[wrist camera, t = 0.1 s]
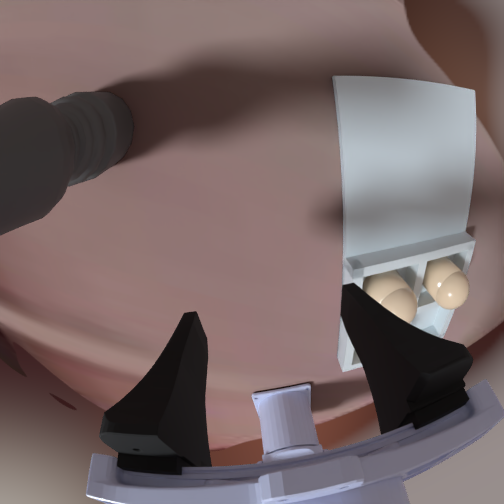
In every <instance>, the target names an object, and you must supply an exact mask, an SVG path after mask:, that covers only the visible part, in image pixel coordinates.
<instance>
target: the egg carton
mask: <svg viewBox="0 0 504 504" xmlns="http://www.w3.org/2000/svg"><path fill="white" fill-rule="evenodd" d="M332 80H333V88H334V95H335V103H336V112H337V121H338V132H339V144H340V157H341V173H342V196H343V277H342V285H345V284H349V283H355V284H356V285H357V286H359V287H360V288H361V289H362V286H363V281H364V280H365V278H366V277H367V276H370V275H374V274H379V273H383V272H387V271H391V270H395V269H396V270H397V272H398V273H399V274H400V275H401V277H402V278H403V279H404V280H405V282H406V283H407V284H408V285H409V287H410V288H411V289H412V291H413V292H414V294H415V295H416V298H417V303H418V308H417V313H416V315H415V318H414V319H413V321H412V322H411V323H410V324H411V325H413V326H415V327H417V328H419V329H421V330H423V331H425V332H427V333H430V334H432V335H434V336H437V337H440V338H443V337H444V334H445V332H446V330H447V327H448V325H449V323H450V320H451V318H452V315H453V312H454V310H455V309H452V310H448V309H444V308H442V307H441V306H439V305H438V304H437V302H436V301H435V300H434V299H433V297H432V296H431V295H430V294H429V292H428V291H427V290H426V289H425V287H424V286H423V285H422V283H423V279H424V274H425V270H426V265H427V261H430V260H434V259H438V258H441V257H445V256H447V257H448V258H449V259H450V260H451V261H452V262H453V263H454V264H455V265H456V266H457V267H458V268H459V269H460V270H461V271H462V272H463V273H464V274H465V275H467V271H468V268H469V264H470V261H471V257H472V253H473V250H474V246H475V241H476V240H475V239H474V238H473V237H472V236H470V235H469V234H468V233H467V232H465V230H466V225H467V220H468V214H469V208H470V201H471V194H472V186H473V177H474V166H475V149H476V103H475V90H471V89H466V88H461V87H456V86H451V85H446V84H440V83H434V82H427V81H419V80H411V79H401V78H390V77H373V76H332ZM341 301H342V300H341ZM337 358H338V360H339V363H340V366H341V369H342V371H343V372H345V371H349V370H352V369H356V368H359V367H363V366H362V364H361V362H360V360H359V357H358V355H357V353H356V351H355V349H354V347H353V345H352V343H351V341H350V339H349V337H348V334H347V332H346V330H345V327H344V324H343V321H342V318H341V316H340V330H339V342H338V352H337Z"/></svg>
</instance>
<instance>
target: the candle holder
mask: <svg viewBox="0 0 504 504" xmlns="http://www.w3.org/2000/svg"><path fill="white" fill-rule="evenodd" d="M133 129H134V125H133V120H132V115H131V111H130V110H129V108H128V107H127V105H126V104H125V102H124V101H123V100H122V99H121V98H119V97H118V96H116V95H114V94H112V93H110V92H74V93H72V94H70V95H68V96H66V97H62V98H60V99H58V100H56V101H54V102H52V103H48V102H47V101H45V100H43V99H41V98H38V97H26V98H16V99H11V100H9V101H7V102H5V103H3V104H2V105H0V235H2V234H5V233H7V232H9V231H11V230H14V229H16V228H19V227H21V226H23V225H26V224H28V223H31V222H34V221H36V220H39V219H41V218H43V217H44V216H46V215H47V214H48V213H49V212H50V211H51V210H52V209H53V207H54V206H55V205H56V204H57V203H58V202H59V201H60V200H61V199H62V197H63V195H64V194H65V192H66V189H67V186H72V185H75V184H78V183H82V182H85V181H87V180H90V179H93V178H96V177H97V176H99V175H100V174H102V173H103V172H104V171H106V170H107V169H109V168H110V167H112V166H113V165H114V164H116V163H117V162H118V161H119V160H120V159H121V158H123V157H124V155H125V153H126V152H127V150H128V148H129V146H130V144H131V142H132V136H133Z"/></svg>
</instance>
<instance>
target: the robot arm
mask: <svg viewBox="0 0 504 504" xmlns="http://www.w3.org/2000/svg"><path fill="white" fill-rule="evenodd" d="M341 318H342V321H343V324H344V327H345V330H346V332H347V334H348V337H349V339H350V341H351V343H352V345H353V347H354V349H355V351H356V353H357V355H358V357H359V360H360V362H361V364H362V366H363V368H364V371H365V374H366V377H367V380H368V383H369V386H370V389H371V393H372V396H373V400H374V404H375V408H376V412H377V416H378V421H379V426H380V431H381V435H379V436H376V437H373V438H370V439H367V440H365V441H361V442H358V443H355V444H351V445H348V446H344V447H341V448H337V449H333V450H328V449H325V450H323V449H322V445H319V442H318V438H317V434H316V429H315V425H314V421H313V417H312V413H311V385H310V384H309V383H307V384H302V385H297V386H292V387H287V388H282V389H276V390H271V391H265V392H258V393H253V394H252V399H253V402H254V404H255V407H256V410H257V413H258V415H259V418H260V424H261V433H262V440H263V449H264V455H262V458H263V461H259V462H258V463H257V464H248V465H236V466H220V467H212V465H211V458H210V451H209V443H208V435H207V423H206V408H205V392H206V378H207V365H208V344H207V337H206V335H205V332H204V330H203V327H202V325H201V322H200V319H199V317H198V314H197V312H196V311H194V312H187V313H184V314H183V316H182V318H181V320H180V322H179V324H178V326H177V328H176V329H175V331H174V333H173V335H172V337H171V338H170V340H169V342H168V344H167V345H166V347H165V349H164V350H163V352H162V353H161V355H160V356H159V358H158V359H157V361H156V362H155V364H154V365H153V366H152V368H151V369H150V370H149V372H148V373H147V374H146V375H145V376H144V378H143V379H142V380H141V381H140V382H139V383H138V384H137V385H136V386H135V387H134V388H133V389H132V390H131V391H130V392H129V393H128V394H127V395H126V396H125V397H124V398H123V399H121V400H120V401H119V402H118V403H116V404H115V405H114V406H112V407H111V408H110V409H108V410H107V411H106V412H105V413H104V416H103V419H102V425H101V429H100V435H99V437H100V439H101V440H102V441H103V442H104V443H105V444H107V445H108V446H109V447H111V448H112V449H114V450H115V451H117V452H118V458H116V457H113V456H108V455H103V454H97V453H93V454H92V458H91V464H90V470H89V477H88V484H87V491H86V495H87V496H88V497H90V498H93V499H96V500H98V501H101V502H104V503H107V504H410V503H409V499H408V496H407V492H406V489H405V486H404V483H403V482H404V481H406V480H408V479H410V478H412V477H414V476H416V475H418V474H420V473H422V472H424V471H426V470H428V469H430V468H432V467H434V466H436V465H437V464H439V463H441V462H443V461H445V460H446V459H448V458H450V457H451V456H453V455H455V454H456V453H458V452H460V451H461V450H463V449H465V448H466V447H468V446H469V445H471V444H472V443H474V442H475V441H477V440H478V439H480V438H481V437H482V436H484V435H485V434H486V433H487V432H489V431H490V430H491V429H492V428H493V427H494V426H495V425H496V424H498V422H500V421H501V420H502V419H503V418H504V409H503V407H502V406H501V404H500V402H499V400H498V398H497V396H496V395H495V393H494V391H493V389H492V388H491V386H490V384H489V383H488V381H487V379H484V380H483V381H481V382H480V383H478V384H476V385H474V386H473V387H471V388H470V389H469V390H467V391H465V389H464V388H463V387H465V382H464V381H463V378H464V376H465V375H466V374H467V372H468V371H469V369H470V367H471V366H472V363H473V358H472V356H471V355H470V353H469V351H468V350H467V348H466V347H465V346H464V345H463V344H460V343H456V342H452V341H449V340H445V339H443V338H440V337H437V336H434V335H432V334H430V333H427V332H425V331H423V330H421V329H419V328H417V327H415V326H413V325H411V324H409V323H408V322H406V321H404V320H402V319H401V318H399V317H398V316H396V315H395V314H393V313H392V312H390V311H389V310H388V309H386V308H385V307H384V306H382V305H381V304H380V303H378V302H377V301H376V300H375V299H373V298H372V297H371V296H370V295H368V294H367V293H366V292H365V291H364V290H362V289H361V288H360V287H359V286H357V285H356V284H355V283H349V284H345V285H342V301H341Z"/></svg>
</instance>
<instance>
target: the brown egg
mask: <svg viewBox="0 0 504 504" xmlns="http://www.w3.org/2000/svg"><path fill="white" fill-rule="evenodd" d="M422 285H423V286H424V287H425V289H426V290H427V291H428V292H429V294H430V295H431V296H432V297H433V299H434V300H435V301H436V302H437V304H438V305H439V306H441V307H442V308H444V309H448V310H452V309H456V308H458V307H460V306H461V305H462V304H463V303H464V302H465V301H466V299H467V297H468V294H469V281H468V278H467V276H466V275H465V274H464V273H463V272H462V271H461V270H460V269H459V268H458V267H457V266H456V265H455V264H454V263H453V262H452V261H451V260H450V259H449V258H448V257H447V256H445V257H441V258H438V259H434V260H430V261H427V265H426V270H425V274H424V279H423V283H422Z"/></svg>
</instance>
